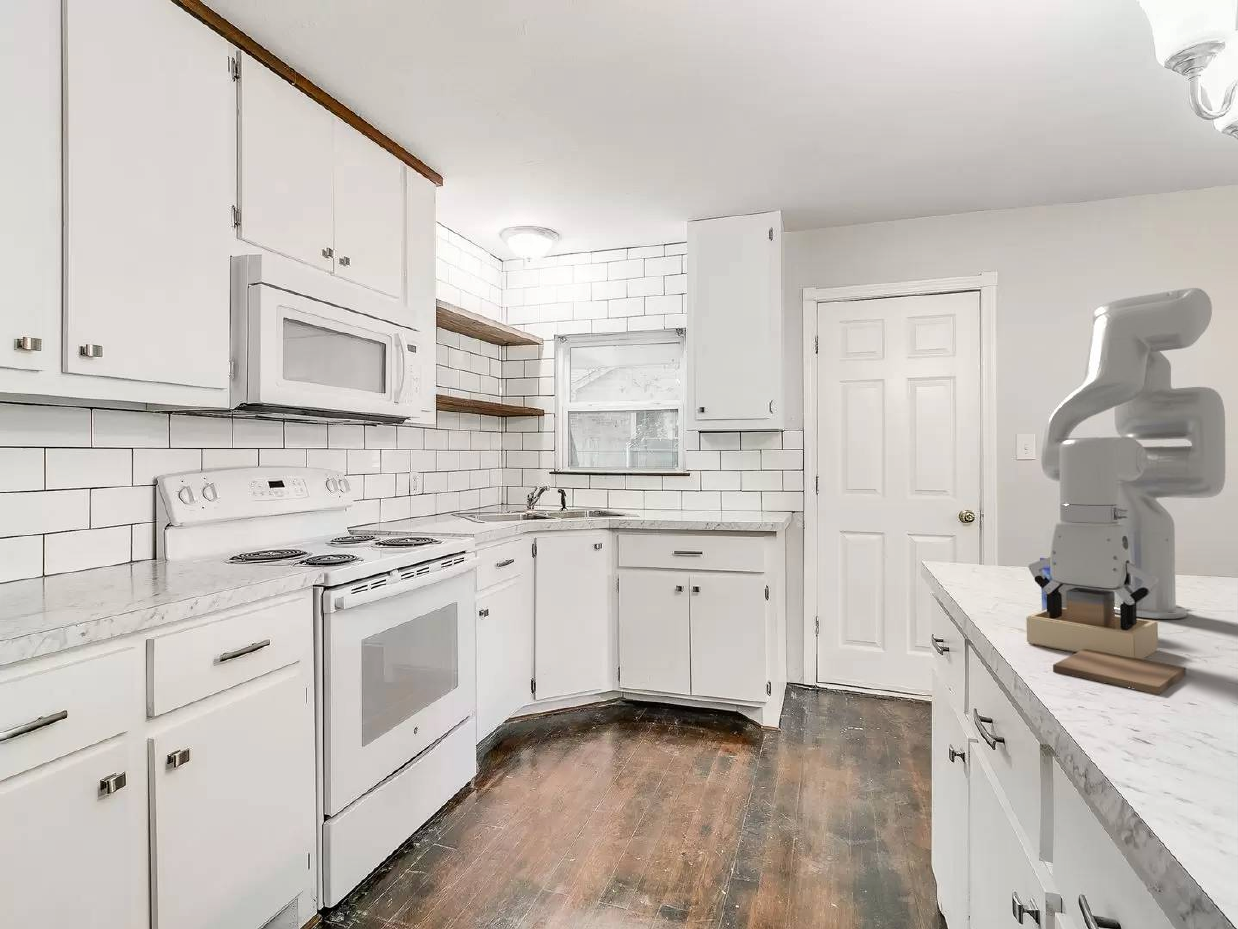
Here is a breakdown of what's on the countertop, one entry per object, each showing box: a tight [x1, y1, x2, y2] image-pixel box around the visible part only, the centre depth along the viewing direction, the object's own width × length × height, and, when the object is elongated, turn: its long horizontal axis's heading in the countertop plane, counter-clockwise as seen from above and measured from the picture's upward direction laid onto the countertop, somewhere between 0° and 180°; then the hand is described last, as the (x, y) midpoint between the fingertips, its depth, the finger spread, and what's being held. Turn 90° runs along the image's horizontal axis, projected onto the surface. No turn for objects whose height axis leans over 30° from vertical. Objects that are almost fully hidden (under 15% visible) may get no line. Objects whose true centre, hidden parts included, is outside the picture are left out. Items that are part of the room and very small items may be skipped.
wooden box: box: [1026, 608, 1159, 660], centre depth 105 cm, size 11×14×4 cm
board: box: [1052, 649, 1187, 695], centre depth 93 cm, size 12×12×1 cm
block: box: [1066, 587, 1116, 629], centre depth 105 cm, size 5×5×9 cm
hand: (1090, 623), depth 105 cm, fingers open, 9 cm apart
